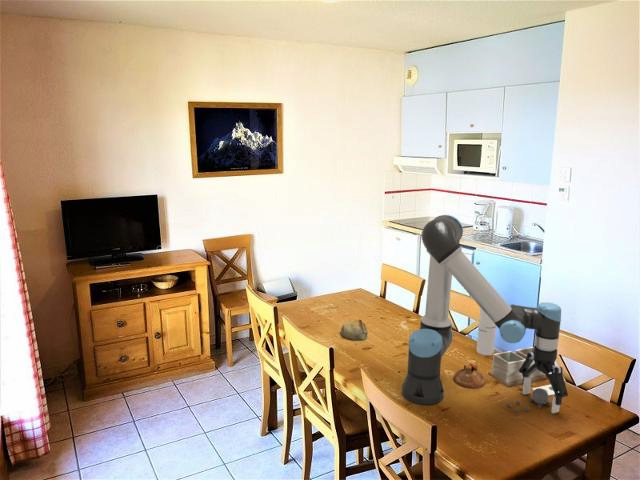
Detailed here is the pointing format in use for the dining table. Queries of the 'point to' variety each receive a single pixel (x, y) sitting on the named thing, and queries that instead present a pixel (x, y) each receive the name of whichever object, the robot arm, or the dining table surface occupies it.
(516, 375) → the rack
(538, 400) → the ball charcoal
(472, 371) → the brown patterned pot lid
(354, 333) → the grey green rock
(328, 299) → the dining table surface
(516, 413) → the small grey cubes
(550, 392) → the dot card
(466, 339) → the dining table surface
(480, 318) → the cylindrical container
